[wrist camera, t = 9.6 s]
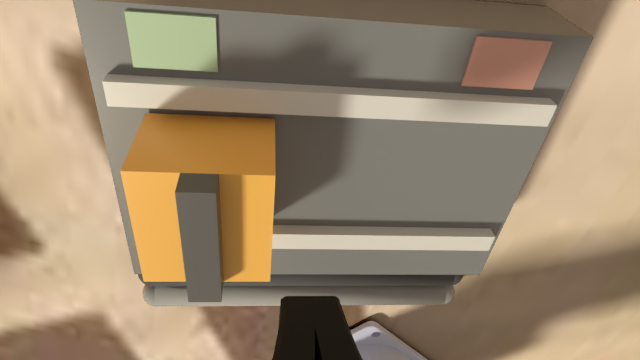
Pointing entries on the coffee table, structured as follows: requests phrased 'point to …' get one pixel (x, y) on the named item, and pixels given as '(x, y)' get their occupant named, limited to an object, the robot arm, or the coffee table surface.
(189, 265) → the breaker toggle
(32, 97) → the coffee table surface
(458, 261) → the breaker deck
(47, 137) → the coffee table surface
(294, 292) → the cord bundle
